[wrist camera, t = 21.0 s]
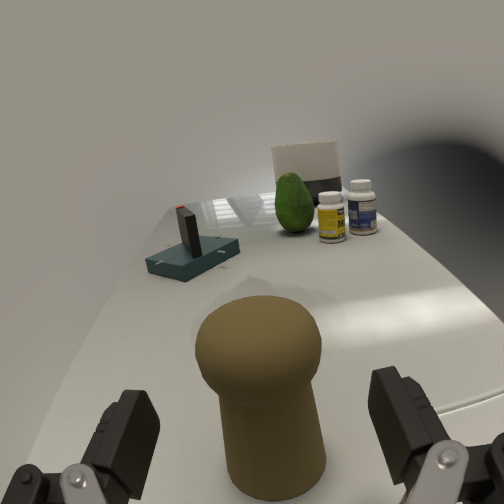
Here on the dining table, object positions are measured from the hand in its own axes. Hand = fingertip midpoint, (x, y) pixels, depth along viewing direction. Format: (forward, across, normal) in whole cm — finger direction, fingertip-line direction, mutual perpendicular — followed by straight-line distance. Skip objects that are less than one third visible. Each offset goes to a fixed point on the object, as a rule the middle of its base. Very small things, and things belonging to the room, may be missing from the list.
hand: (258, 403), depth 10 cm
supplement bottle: (+44, -13, +9) cm, 47 cm away
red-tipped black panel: (+41, +12, +7) cm, 43 cm away
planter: (+82, -15, +9) cm, 84 cm away
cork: (+3, 0, +9) cm, 10 cm away
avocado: (+52, -7, +9) cm, 53 cm away
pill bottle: (+47, -20, +9) cm, 52 cm away
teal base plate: (+41, +12, +9) cm, 44 cm away
